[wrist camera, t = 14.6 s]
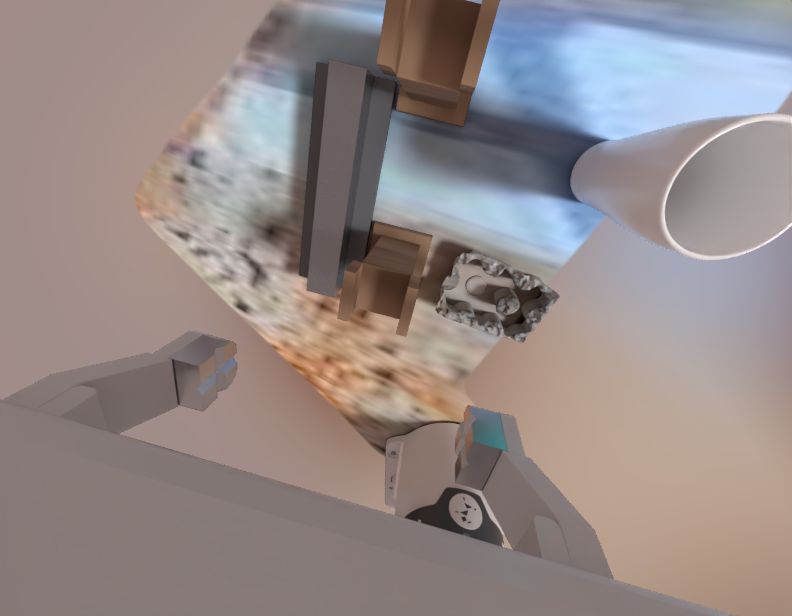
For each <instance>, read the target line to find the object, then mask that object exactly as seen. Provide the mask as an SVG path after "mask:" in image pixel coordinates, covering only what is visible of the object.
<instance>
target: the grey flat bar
mask: <svg viewBox="0 0 792 616" xmlns="http://www.w3.org/2000/svg"><path fill="white" fill-rule="evenodd" d="M328 67H329V65H327V64H322V63H318V62H317V63H316V75H315V87H314V99H313V111H312V124H311V136H310V148H309V160H308V172H307V185H306V197H305V209H304V221H303V233H302V246H301V258H300V270H299V275H300V276H304V277H307V278H308V272H309V261H310V251H311V241H312V231H313V220H314V210H315V200H316V190H317V180H318V169H319V159H320V149H321V139H322V129H323V118H324V108H325V98H326V88H327V78H328ZM396 85H397V82H396V81H392V80H388V79H384V78H380V77H376V76H374V84H373V90H372V97H371V103H370V110H369V116H368V123H367V129H366V136H365V142H364V148H363V155H362V161H361V168H360V174H359V181H358V187H357V194H356V200H355V207H354V213H353V220H352V226H351V232H350V239H349V245H348V252H347V258H346V265H345V270H346V269H347V267H348V266H349V265H350V264H351V263H352V261H353V260H354V261H358V262H363V261H364V259H365V255H366V250H367V244H368V239H369V233H370V228H371V222H372V217H373V211H374V206H375V200H376V195H377V189H378V184H379V178H380V173H381V167H382V162H383V156H384V151H385V145H386V140H387V134H388V129H389V123H390V118H391V112H392V107H393V101H394V96H395V90H396ZM344 272H345V271H344ZM343 279H344V278H343ZM342 286H343V284H342Z"/></svg>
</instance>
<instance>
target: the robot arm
mask: <svg viewBox="0 0 792 616" xmlns="http://www.w3.org/2000/svg"><path fill="white" fill-rule="evenodd" d="M236 353H237V346H236V344H235V343H234V342H232V341H229V340H225V339H222V338H219V337H215V336H212V335H208V334H204V333H201V332H198V331H188V332H187V333H185V334H184V335H182V336H181V337H179V338H177V339H176V340H174V341H172V342H171V343H169V344H168V345H166V346H164V347H163V348H161V349H159V350H158V351H156V352H155V353H153V354H150V353H145V354H141V355H136V356H132V357H127V358H123V359H119V360H114V361H109V362H105V363H100V364H96V365H92V366H87V367H83V368H78V369H74V370H69V371H65V372H60V373H56V374H51V375H49V376H47V377H45V378H43V379H41V380H40V381H37V382H35V383H34V384H32V385H30V386H28V387H26V388H24V389H22V390H20V391H18V392H16V393H14V394H12V395H11V396H9V397H7V398H5V399H3V400H0V616H736V615H733V614H730V613H727V612H723V611H720V610H716V609H713V608H709V607H706V606H702V605H699V604H695V603H692V602H689V601H686V600H682V599H678V598H675V597H672V596H668V595H665V594H662V593H658V592H655V591H651V590H648V589H644V588H641V587H638V586H634V585H631V584H628V583H624V582H621V581H617V580H614V578H613V575H612V573H611V570H610V568H609V565H608V563H607V560H606V558H605V555H604V553H603V550H602V547H601V545H600V542H599V540H598V537H597V535H596V532H595V530H594V529H593V528H592V527H591V526H590V524H589V523H588V522H587V521H586V520H585V519H584V518H583V517H582V515H581V514H580V513H579V512H578V511H577V510H576V509H575V508H574V507H573V506H572V504H571V503H570V502H569V501H568V500H567V499H566V498H565V496H564V495H563V494H562V493H561V492H560V491H559V490H558V489H557V487H556V486H555V485H554V484H553V483H552V482H551V481H550V480H549V478H548V477H547V476H546V475H545V474H544V473H543V472H542V471H541V470H540V469H539V467H538V466H537V465H536V464H535V463H534V462H533V460H532V459H531V458H529V457H526V456H525V452H524V449H523V445H522V441H521V437H520V434H519V430H518V426H517V422H516V418H515V417H514V416H512V415H508V414H503V413H499V412H498V413H497V412H494V411H490V410H486V409H482V408H478V407H475V406H471V405H468V406H467V407H466V409H465V412H464V421H463V422H462V423H460V424H454V423H435V424H430V425H426V426H423V427H420V428H418V429H416V430H414V431H413V432H411V433H409V434H407V435H403V436H396V437H392V438H389V439H388V440H387V441H386V473H385V477H386V479H385V504H386V505H387V506H388V507H389V508H390V509H392V510H394V511H395V515H392V514H389V513H385V512H382V511H379V510H375V509H372V508H368V507H365V506H361V505H358V504H355V503H351V502H348V501H345V500H341V499H338V498H334V497H331V496H327V495H324V494H321V493H317V492H314V491H311V490H307V489H304V488H300V487H297V486H294V485H290V484H286V483H283V482H280V481H276V480H273V479H270V478H266V477H263V476H259V475H256V474H253V473H249V472H246V471H242V470H239V469H236V468H232V467H229V466H225V465H221V464H218V463H215V462H212V461H208V460H205V459H201V458H198V457H194V456H191V455H188V454H184V453H180V452H178V451H174V450H171V449H167V448H164V447H160V446H157V445H153V444H150V443H147V442H143V441H140V440H136V439H133V438H130V437H126V436H123V435H120V434H119V433H121V432H123V431H125V430H127V429H129V428H132V427H134V426H136V425H138V424H141V423H143V422H145V421H147V420H149V419H151V418H154V417H156V416H158V415H160V414H162V413H165V412H167V411H169V410H171V409H174V408H176V407H178V405H180V406H184V407H188V408H192V409H196V410H200V411H204V410H205V409H206V408H207V407H208V406H209V405H210V404H211V403H212V402H213V401H214V400H215V399H216V398H217V392H219V391H222V390H225V389H226V388H227V387H228V386H229V385H230V384H231V383H232V381H233V380H234V378H235V376H236V372H237V362H236V361H235V359H234V357H233V356H234V355H235V354H236ZM504 534H505V536H506V538H507V540H508V541H509V543H510V545H511V547H512V549H513V550H512V549H508V548H505V547H504V542H503V536H502V535H504Z"/></svg>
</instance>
